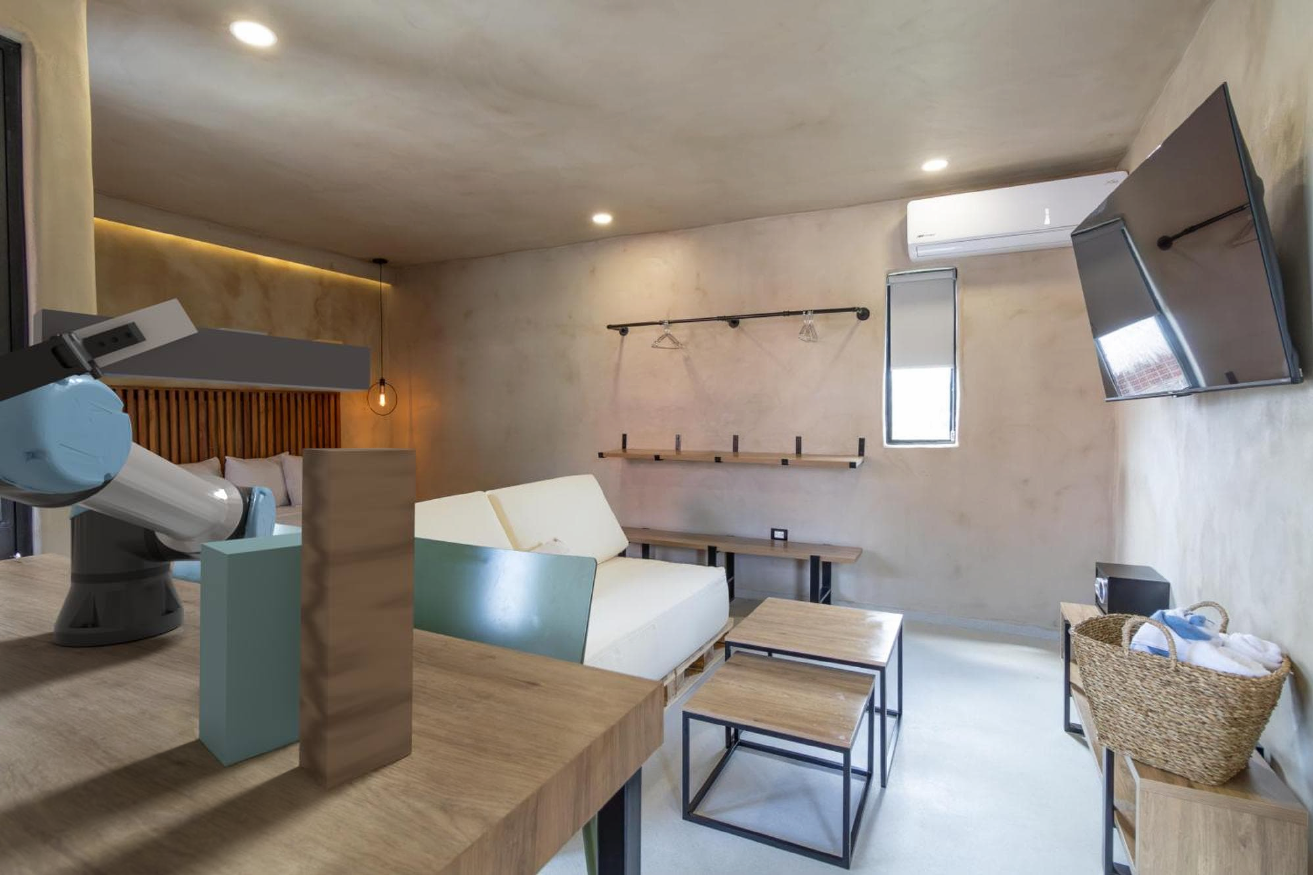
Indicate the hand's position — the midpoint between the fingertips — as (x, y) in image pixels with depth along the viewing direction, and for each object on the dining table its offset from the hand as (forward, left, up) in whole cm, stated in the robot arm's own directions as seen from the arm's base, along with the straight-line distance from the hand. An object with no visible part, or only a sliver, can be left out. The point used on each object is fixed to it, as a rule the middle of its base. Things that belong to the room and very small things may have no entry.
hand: (176, 319), depth 48 cm
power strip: (0, +3, -5) cm, 6 cm away
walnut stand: (0, +14, -40) cm, 43 cm away
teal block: (-12, +11, -40) cm, 43 cm away
